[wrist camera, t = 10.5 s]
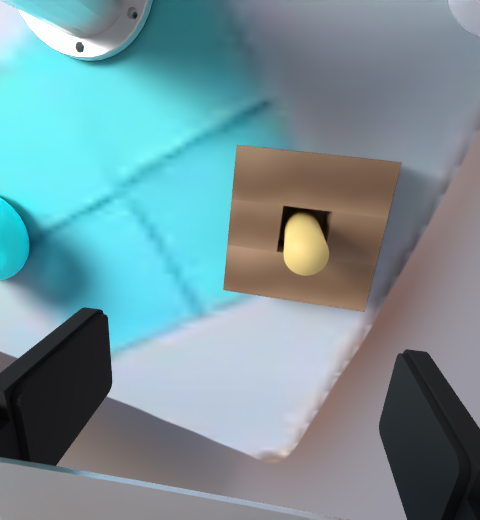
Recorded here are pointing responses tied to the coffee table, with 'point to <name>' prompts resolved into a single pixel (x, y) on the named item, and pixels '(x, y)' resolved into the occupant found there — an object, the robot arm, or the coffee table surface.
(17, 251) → the cyan round grooved piece
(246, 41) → the coffee table surface
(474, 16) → the cylinder with rectangular tab
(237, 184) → the bore block
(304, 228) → the pin
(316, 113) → the coffee table surface
